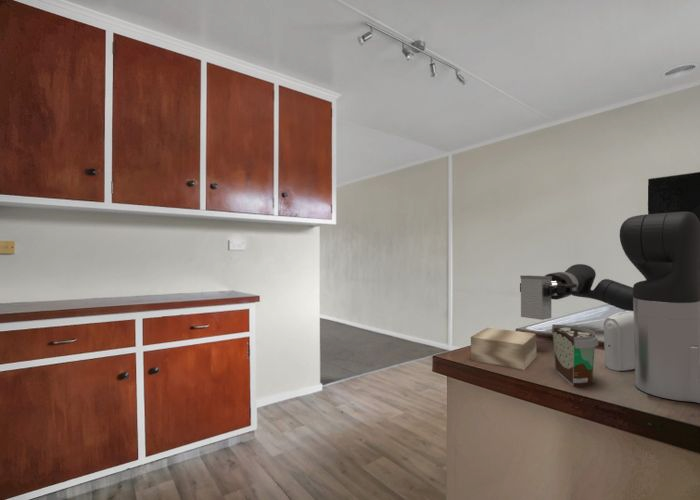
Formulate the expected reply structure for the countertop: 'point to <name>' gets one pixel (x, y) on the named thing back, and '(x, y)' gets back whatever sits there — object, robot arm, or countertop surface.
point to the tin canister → (535, 297)
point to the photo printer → (619, 341)
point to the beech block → (504, 347)
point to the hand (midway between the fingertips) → (533, 290)
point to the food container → (574, 353)
